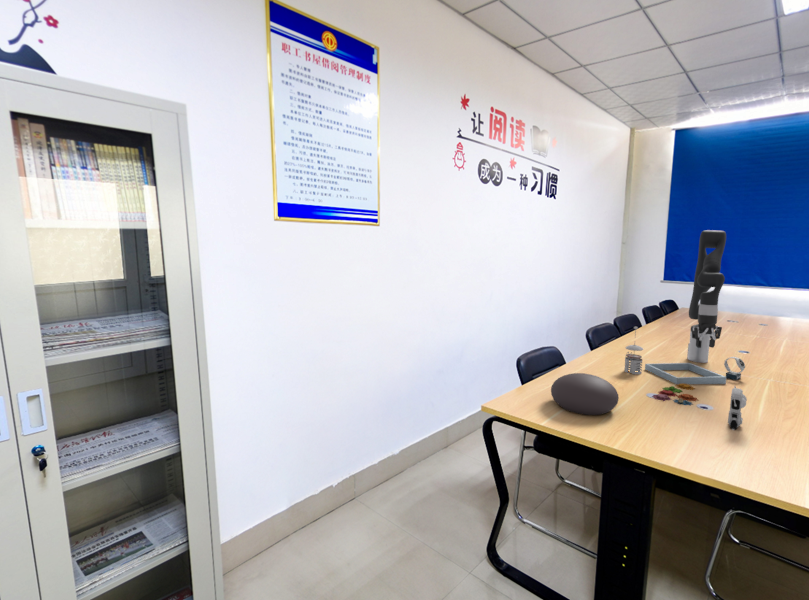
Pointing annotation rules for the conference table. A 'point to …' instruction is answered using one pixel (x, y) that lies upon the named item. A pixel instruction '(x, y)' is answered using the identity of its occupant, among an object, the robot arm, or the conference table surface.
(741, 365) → the watch
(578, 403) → the smooth stone
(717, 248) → the robot arm
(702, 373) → the grey flat square frame
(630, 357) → the french press
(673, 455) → the conference table surface
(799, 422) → the conference table surface
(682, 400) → the gear puzzle
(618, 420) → the conference table surface
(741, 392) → the robot toy
